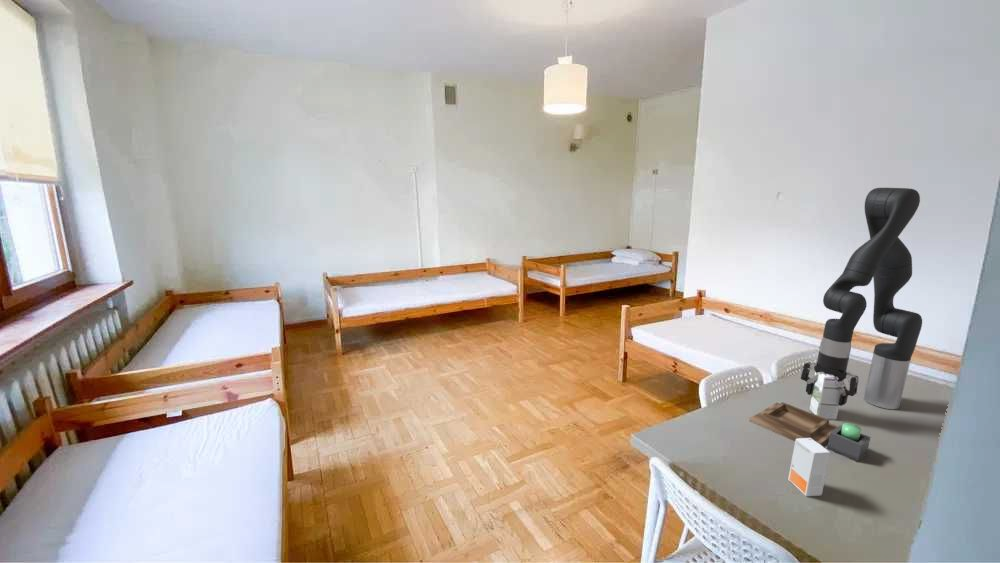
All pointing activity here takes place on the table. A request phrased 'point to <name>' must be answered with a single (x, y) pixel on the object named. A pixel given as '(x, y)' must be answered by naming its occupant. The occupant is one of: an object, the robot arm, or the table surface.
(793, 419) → the brown wooden square tray
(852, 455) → the button housing
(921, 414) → the table surface
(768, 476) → the table surface
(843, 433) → the button
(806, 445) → the skincare box
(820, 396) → the syrup box
